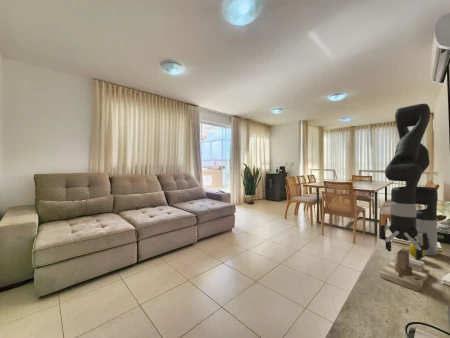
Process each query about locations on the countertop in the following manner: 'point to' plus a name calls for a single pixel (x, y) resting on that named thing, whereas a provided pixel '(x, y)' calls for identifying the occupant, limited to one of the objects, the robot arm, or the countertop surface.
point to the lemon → (414, 250)
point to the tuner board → (411, 281)
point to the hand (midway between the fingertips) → (403, 254)
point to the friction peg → (403, 263)
